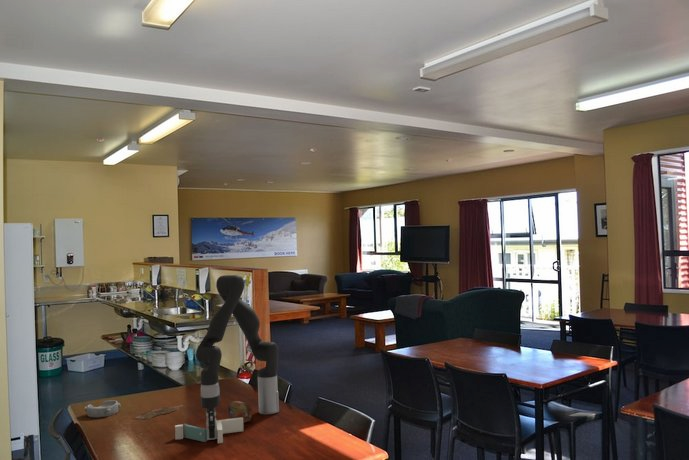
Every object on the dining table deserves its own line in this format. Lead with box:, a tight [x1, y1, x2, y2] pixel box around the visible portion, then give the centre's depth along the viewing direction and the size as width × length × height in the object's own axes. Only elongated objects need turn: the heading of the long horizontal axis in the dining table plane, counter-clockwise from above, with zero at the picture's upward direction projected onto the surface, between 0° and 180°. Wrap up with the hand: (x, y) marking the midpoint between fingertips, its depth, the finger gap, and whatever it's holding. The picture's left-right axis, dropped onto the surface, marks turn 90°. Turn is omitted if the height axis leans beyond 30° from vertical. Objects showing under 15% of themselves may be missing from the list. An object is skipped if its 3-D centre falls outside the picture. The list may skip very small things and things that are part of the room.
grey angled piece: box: [174, 417, 244, 444], centre depth 221 cm, size 28×13×5 cm, turn 106°
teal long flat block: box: [183, 423, 208, 443], centre depth 220 cm, size 13×2×5 cm, turn 58°
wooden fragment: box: [134, 404, 184, 420], centre depth 260 cm, size 26×11×1 cm, turn 138°
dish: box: [84, 399, 122, 418], centre depth 261 cm, size 14×14×5 cm
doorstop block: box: [205, 419, 217, 441], centre depth 219 cm, size 4×4×7 cm
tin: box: [227, 400, 253, 424], centre depth 244 cm, size 15×3×8 cm, turn 47°
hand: (211, 435), depth 219 cm, fingers closed on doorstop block, 4 cm apart
